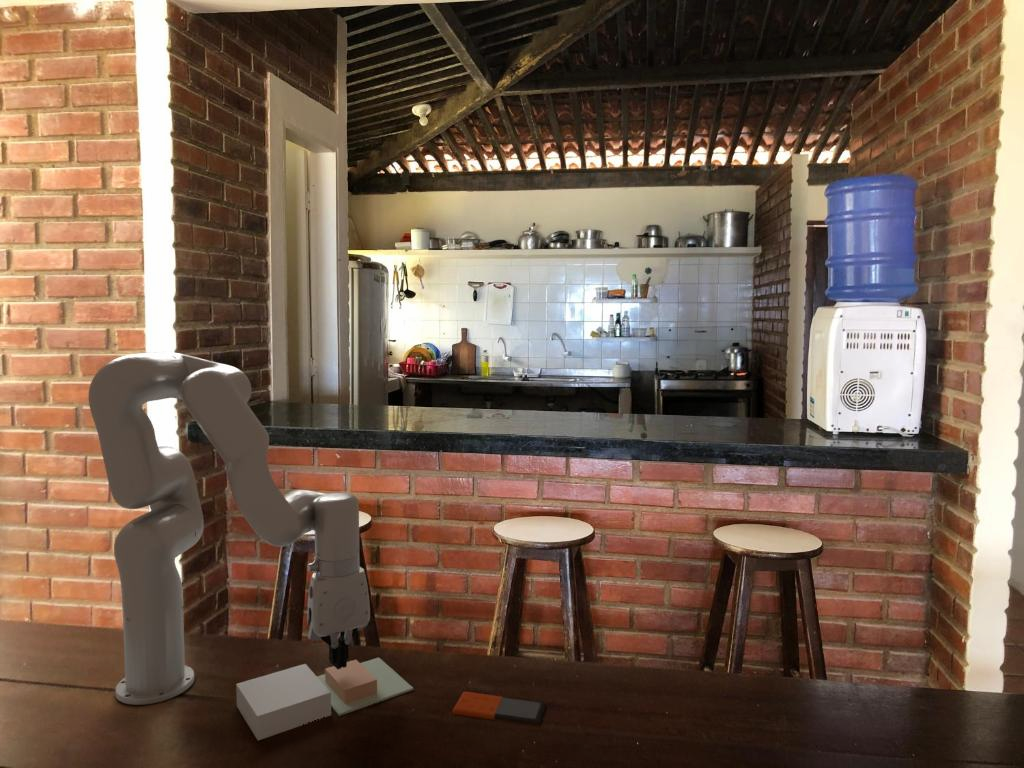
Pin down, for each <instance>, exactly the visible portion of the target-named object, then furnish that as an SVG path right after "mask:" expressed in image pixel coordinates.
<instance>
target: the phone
mask: <svg viewBox="0 0 1024 768" xmlns="http://www.w3.org/2000/svg"><path fill="white" fill-rule="evenodd" d="M545 709H546V704H545V703H544V702H541V701H537V700H529V699H528V700H527V699H522V698H521V699H520V698H514V697H509V696H508V697H507V696H499V695H493V694H492V695H491V694H485V693H484V694H483V693H478V692H471V691H464V692H462V694H461V695H460V697H459V699H458V700H457V702H456V704H455V705H454V708H453V709H452V714H453V715H458V716H463V717H464V716H466V717H472V718H477V719H478V718H479V719H486V720H490V721H491V720H493V721H498V722H504V723H505V722H506V723H513V724H514V723H515V724H520V725H527V726H534V727H538V726H539V725H541V720H542V717H543V715H544V712H545Z"/></svg>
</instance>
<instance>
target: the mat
mask: <svg viewBox="0 0 1024 768" xmlns="http://www.w3.org/2000/svg"><path fill="white" fill-rule="evenodd" d="M359 663H360V664H361V665H362V666H363V667H365V668H366V669H367V670H368V671H369V672H370V673H371V674H372V675H373V676H374V677H375V678H376V679H377V693H376V694H373V695H370V696H367V697H364V698H361V699H358V700H355V701H352V702H350V703H347V704H345V703H344V702H343V701H342V700H341V699H340V698H339V697H338V696H337V694H336V693H335V692H334V691H333V690H332V689H331V688H330V687H329V685H328V684H327V683H326V682H325V673H324V674H321V675H316V676H317V677H318V679H319V680H320V681H321V682H322V683H323V684H324V685H325V686H326V688H327V689H328V690H329V691H330V692H331V709H333V711H334V712H335V713H336V714H337V716H338V717H340V716H343V715H346V714H348V713H352V712H354V711H358V710H360V709H364V708H367V707H368V706H372V705H375V704H378V703H380V701H381V702H383V701H385V700H389V699H392V698H394V697H397V696H400V695H404V694H405V693H409V692H411V691H414V687H413V686H412V685H411V684H409V683H408V682H407V681H406V680H405V679H404V678H403V677H402V676H400V675H399V674H398V673H397V672H396V670H394V669H393V668H392V667H390V666H389V665H388V664H387V663H386V662H385V661H384V660H383V659H381V658H380V657H376V658H372V659H370V660H367V661H362V662H359ZM374 703H375V704H374Z"/></svg>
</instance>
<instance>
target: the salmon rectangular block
mask: <svg viewBox="0 0 1024 768" xmlns="http://www.w3.org/2000/svg"><path fill="white" fill-rule="evenodd" d="M360 663H361V662H359V661H358V660H357V659H354V660H349V661H347V667H345V668H343V667H342V668H341V669H338V670H337V669H336V667H335V666H334V665H333V666H330V667H329V666H328V667H326V668H324V672H325V673H324V674H325V682H326V683H327V684H328V685H329V687H330V688H331V689H332V690H333V691H334V692H335V693H336V694H337V696H338V697H339V698H340V699H341V700H342V701H343V702H344V703H345V704H347V703H350V702H352V701H355V700H358V699H361V698H364V697H367V696H370V695H373V694H376V693H377V679H376V678H375V677H374V676H373V675H372V674H371V673H370V672H369V671H368V670H367V669H366V668H365V667H363V666H362V665H361V664H360Z"/></svg>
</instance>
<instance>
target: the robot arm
mask: <svg viewBox="0 0 1024 768" xmlns="http://www.w3.org/2000/svg"><path fill="white" fill-rule="evenodd" d="M251 396H252V384H251V382H250V379H249V378H248V376H247V374H245V373H244V372H243V371H242V370H240V369H239V368H237V367H235V366H232V365H229V364H225V363H221V362H216V361H212V360H208V359H203V358H200V357H196V356H191V355H188V354H183V353H179V352H172V351H162V352H139V353H131V354H127V355H126V354H125V355H122V356H119V357H116V358H114V359H112V360H110V361H109V362H107V363H105V364H104V365H103V366H101V368H100V369H99V370H98V371H97V372H96V373H95V374H94V376H93V378H92V380H91V382H90V385H89V388H88V405H89V409H90V413H91V416H92V419H93V422H94V425H95V429H96V432H97V435H98V441H99V444H100V449H101V450H100V451H101V455H102V460H103V463H104V468H105V473H106V476H107V482H108V486H109V489H110V490H109V491H110V493H111V496H112V499H113V500H114V501H115V503H116V504H117V505H118V506H120V507H122V508H123V509H127V510H138V509H142V508H145V507H148V506H149V508H150V511H148V512H146V513H143V514H142V515H140V516H137V517H135V518H134V519H132V520H131V521H129V522H128V523H126V524H125V525H124V526H123V527H122V528H121V530H119V532H118V533H117V536H116V538H115V541H114V545H113V553H114V554H113V555H114V559H115V563H116V568H117V571H118V575H119V581H120V589H121V605H122V606H121V609H122V622H123V623H122V625H123V626H122V629H123V651H124V653H123V654H124V657H123V658H124V675H125V677H123V678H122V679H121V680H120V681H119V682H118V683H117V685H116V686H115V698H116V699H117V700H118V701H119V702H121V703H123V704H127V705H131V706H133V705H134V706H137V705H138V706H139V705H140V706H142V705H151V704H156V703H160V702H163V701H168V700H170V699H172V698H174V697H176V696H179V695H181V694H182V693H184V692H185V691H186V690H188V689H189V688H190V687H191V686H192V685H193V684H194V681H195V679H196V678H195V671H194V669H193V668H191V667H190V666H189V665H186V662H185V657H186V656H185V636H184V635H185V633H184V632H185V629H184V599H183V584H182V579H181V575H180V573H179V571H178V568H177V565H176V559H177V558H178V556H180V555H182V554H184V552H186V551H188V550H189V549H191V548H192V547H194V546H195V545H196V544H197V543H198V542H199V540H200V539H201V537H202V535H203V532H204V527H205V526H204V515H203V510H202V504H201V500H200V495H199V491H198V487H197V482H196V477H195V474H194V469H193V467H192V464H191V463H190V460H189V459H188V457H187V456H186V455H185V454H184V453H183V452H181V451H180V450H178V449H177V448H174V447H171V446H158V441H157V439H156V431H155V429H154V426H153V423H152V421H151V419H150V417H149V416H148V415H147V413H146V411H145V410H144V409H143V405H145V404H146V403H148V402H152V401H160V400H166V399H177V400H180V401H181V400H182V403H183V404H184V406H185V408H186V409H187V410H188V412H189V413H190V415H191V416H192V418H193V419H194V421H195V422H196V424H197V425H198V426H199V428H200V429H201V431H202V432H203V433H204V435H205V437H206V438H207V439H208V441H209V442H210V444H211V445H212V447H214V450H216V452H217V453H218V455H219V456H220V457H221V459H222V460H223V462H224V465H225V470H226V477H227V480H228V484H229V489H230V491H231V492H230V493H231V494H232V498H233V500H234V503H235V505H236V507H237V508H238V510H239V511H240V513H241V514H242V516H243V517H244V519H245V521H246V522H247V523H248V524H249V525H250V527H251V529H252V530H253V531H254V532H255V534H257V535H258V537H259V538H260V540H262V541H264V542H265V543H267V544H268V545H270V546H274V547H279V548H280V547H287V546H289V545H292V544H293V543H295V542H297V540H299V539H300V538H301V537H302V536H303V535H305V534H307V533H309V532H312V531H314V557H313V561H312V562H311V563H308V564H307V565H306V567H307V571H308V572H309V573H311V572H313V573H312V575H311V578H310V581H309V582H310V584H309V588H308V589H309V590H308V598H307V610H306V611H307V612H306V613H307V614H306V616H307V617H306V619H307V620H306V621H307V626H308V632H307V633H308V634H307V639H308V640H309V641H311V642H321V641H322V642H324V643H325V644H327V645H328V661H329V663H330V664H331V665H333V666H335V667H336V669H337V670H338V669H341V668H342V667H343V668H345V667H347V662H348V660H349V645H350V644H351V643H352V639H353V638H354V636H355V635H356V633H358V631H360V630H362V629H364V628H366V627H368V624H369V622H370V619H371V607H370V595H369V587H368V582H367V581H368V580H367V577H366V572H365V569H364V568H363V567H361V566H360V506H359V500H358V498H357V497H356V496H355V495H354V494H351V493H347V492H331V493H324V492H319V491H318V492H317V491H313V490H308V489H295V490H291V491H290V492H287V493H286V494H283V493H282V492H281V490H280V489H279V487H278V486H277V484H276V483H275V481H274V479H273V477H272V474H271V472H270V469H269V465H268V451H269V445H270V435H269V433H268V431H267V430H266V428H265V427H264V425H263V424H262V423H261V422H260V420H259V418H258V417H257V416H256V414H255V413H254V411H253V410H252V409H251V407H250V406H249V404H248V403H249V400H250V399H251Z"/></svg>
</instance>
